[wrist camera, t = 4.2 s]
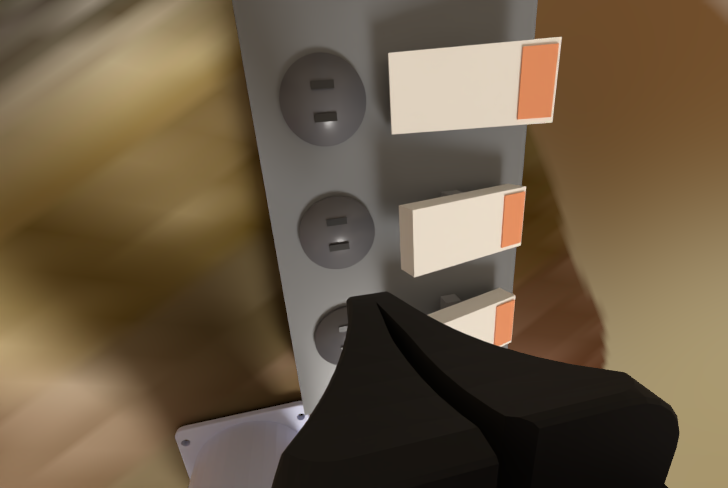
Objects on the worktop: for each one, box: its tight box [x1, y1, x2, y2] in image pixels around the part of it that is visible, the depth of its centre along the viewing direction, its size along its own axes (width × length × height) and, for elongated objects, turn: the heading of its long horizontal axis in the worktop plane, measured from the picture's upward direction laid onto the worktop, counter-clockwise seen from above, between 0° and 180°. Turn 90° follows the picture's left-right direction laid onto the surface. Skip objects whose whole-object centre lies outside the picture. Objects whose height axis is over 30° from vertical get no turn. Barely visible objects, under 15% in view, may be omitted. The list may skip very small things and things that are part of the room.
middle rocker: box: [399, 184, 526, 278], centre depth 15 cm, size 3×6×1 cm, turn 94°
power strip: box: [232, 0, 538, 415], centre depth 17 cm, size 20×12×4 cm, turn 4°
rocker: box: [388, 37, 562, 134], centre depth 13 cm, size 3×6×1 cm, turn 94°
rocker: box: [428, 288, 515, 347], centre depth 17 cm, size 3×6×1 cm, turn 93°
